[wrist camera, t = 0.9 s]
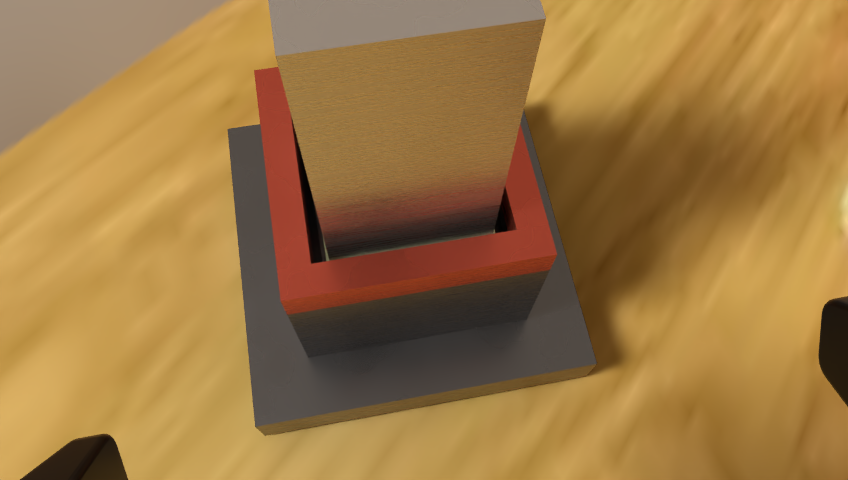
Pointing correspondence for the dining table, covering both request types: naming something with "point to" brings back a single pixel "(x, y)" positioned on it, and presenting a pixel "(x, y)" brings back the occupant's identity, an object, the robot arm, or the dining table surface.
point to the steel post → (405, 113)
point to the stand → (392, 295)
